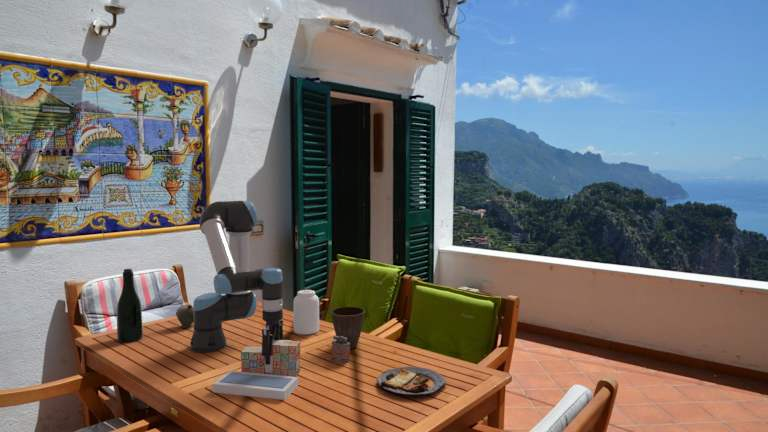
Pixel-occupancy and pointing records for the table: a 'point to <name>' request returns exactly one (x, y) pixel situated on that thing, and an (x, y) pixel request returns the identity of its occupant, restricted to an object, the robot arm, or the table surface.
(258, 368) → the stack of blocks
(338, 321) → the plant pot
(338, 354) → the lighter
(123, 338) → the beer bottle
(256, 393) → the base board
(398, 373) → the food plate
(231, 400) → the table surface
